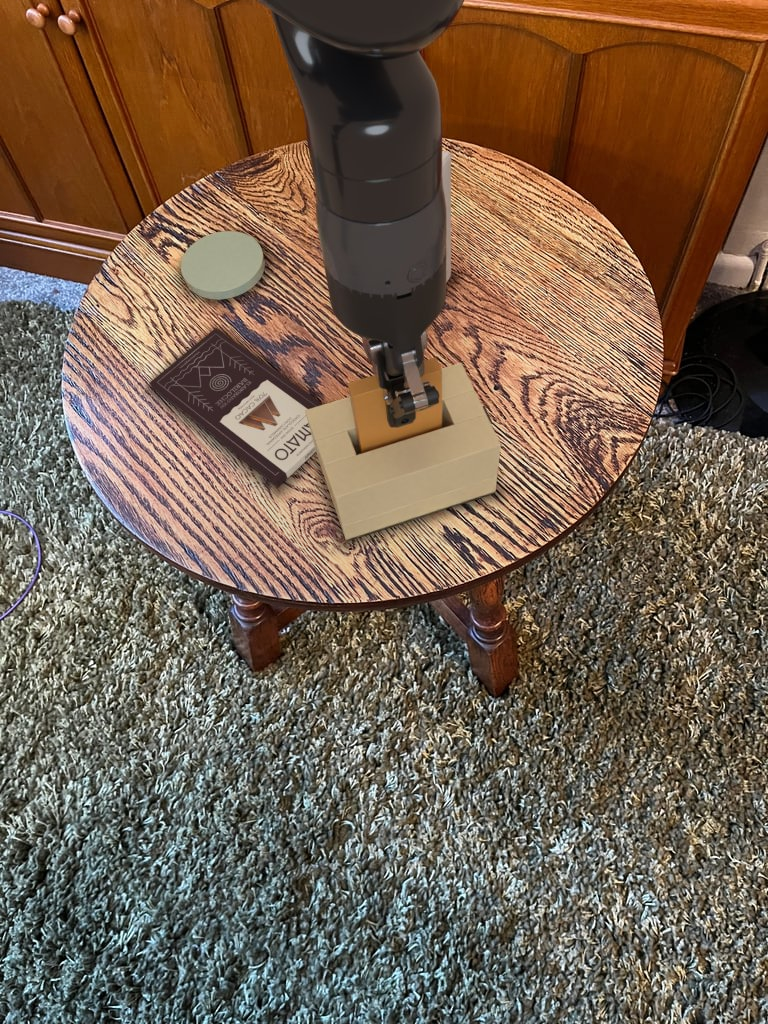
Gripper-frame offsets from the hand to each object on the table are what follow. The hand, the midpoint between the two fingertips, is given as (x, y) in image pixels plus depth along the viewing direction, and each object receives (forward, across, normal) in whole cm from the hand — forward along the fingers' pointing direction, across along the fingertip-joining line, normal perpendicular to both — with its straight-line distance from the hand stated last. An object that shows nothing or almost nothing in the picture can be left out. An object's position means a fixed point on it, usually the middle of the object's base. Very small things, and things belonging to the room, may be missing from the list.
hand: (398, 412), depth 61 cm
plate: (+10, -32, -10) cm, 35 cm away
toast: (+5, 0, 0) cm, 5 cm away
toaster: (+10, 0, 0) cm, 10 cm away
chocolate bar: (+10, -13, -12) cm, 20 cm away
